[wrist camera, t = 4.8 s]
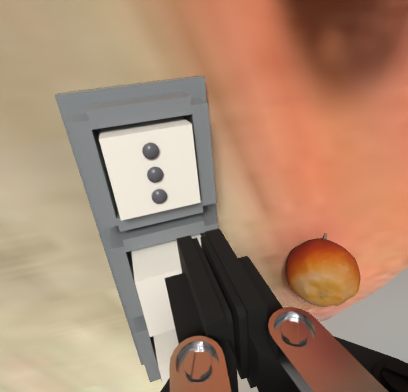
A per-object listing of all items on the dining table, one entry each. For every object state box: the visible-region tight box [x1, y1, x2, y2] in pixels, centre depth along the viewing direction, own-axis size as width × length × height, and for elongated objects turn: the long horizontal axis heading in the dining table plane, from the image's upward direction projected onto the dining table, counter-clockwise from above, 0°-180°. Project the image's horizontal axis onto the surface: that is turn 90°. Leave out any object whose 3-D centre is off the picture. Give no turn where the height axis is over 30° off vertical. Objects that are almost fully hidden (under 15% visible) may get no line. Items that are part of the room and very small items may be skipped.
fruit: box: [287, 233, 360, 307], centre depth 33 cm, size 8×8×8 cm
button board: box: [55, 76, 219, 382], centre depth 27 cm, size 11×31×4 cm, turn 6°
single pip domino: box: [154, 329, 179, 386], centre depth 28 cm, size 6×6×4 cm
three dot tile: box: [99, 116, 201, 221], centre depth 21 cm, size 6×6×4 cm
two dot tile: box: [131, 234, 202, 337], centre depth 24 cm, size 6×6×4 cm
